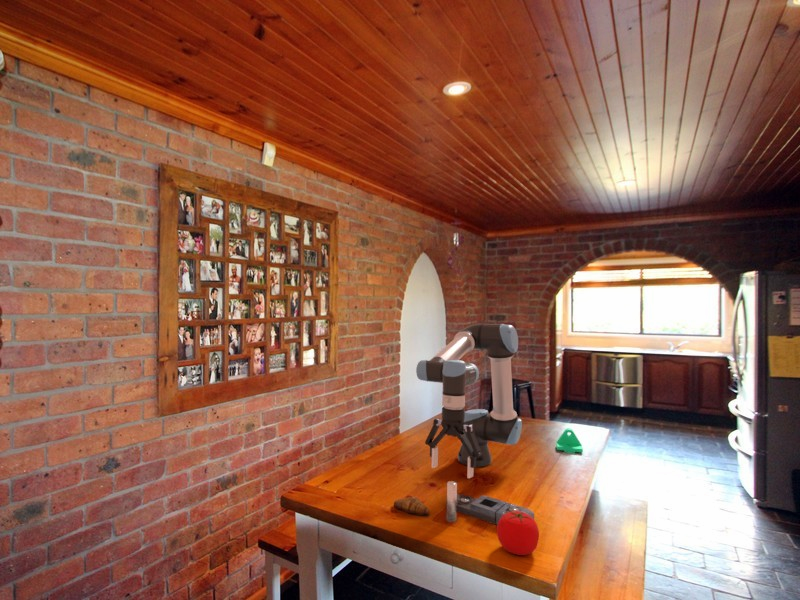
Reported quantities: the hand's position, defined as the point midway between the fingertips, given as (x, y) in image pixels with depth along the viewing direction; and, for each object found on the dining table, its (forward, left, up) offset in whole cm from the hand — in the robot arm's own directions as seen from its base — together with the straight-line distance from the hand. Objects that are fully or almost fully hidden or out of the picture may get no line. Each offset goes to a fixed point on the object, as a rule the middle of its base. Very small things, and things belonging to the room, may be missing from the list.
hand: (451, 472), depth 141 cm
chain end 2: (+13, +11, -16) cm, 24 cm away
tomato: (+24, -3, -16) cm, 29 cm away
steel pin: (0, 0, -16) cm, 16 cm away
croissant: (-14, -3, -16) cm, 22 cm away
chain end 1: (+2, +11, -16) cm, 20 cm away
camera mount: (+10, +100, -16) cm, 102 cm away
